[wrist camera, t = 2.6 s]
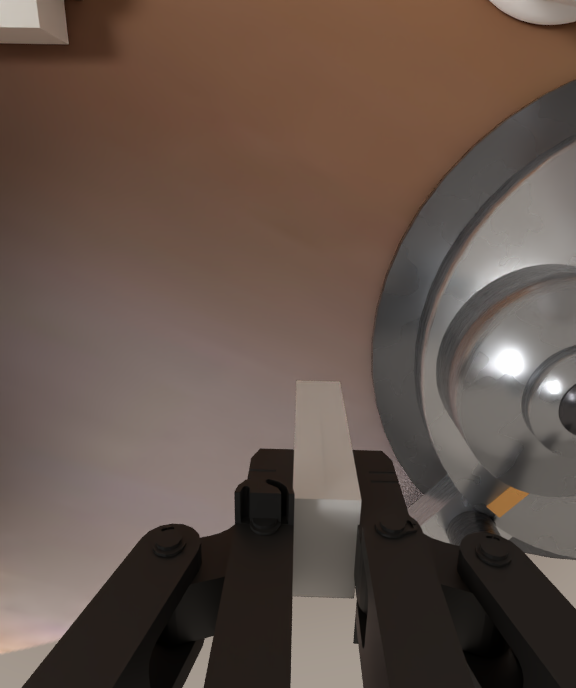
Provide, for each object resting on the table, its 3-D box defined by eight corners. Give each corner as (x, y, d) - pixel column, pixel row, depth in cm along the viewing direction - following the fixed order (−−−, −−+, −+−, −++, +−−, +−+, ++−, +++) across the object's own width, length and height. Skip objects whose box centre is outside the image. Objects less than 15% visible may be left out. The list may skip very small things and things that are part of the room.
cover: (425, 448, 24) (454, 508, 19) (448, 261, 21) (488, 284, 17) (613, 452, 24) (683, 513, 19) (663, 265, 21) (758, 289, 16)
